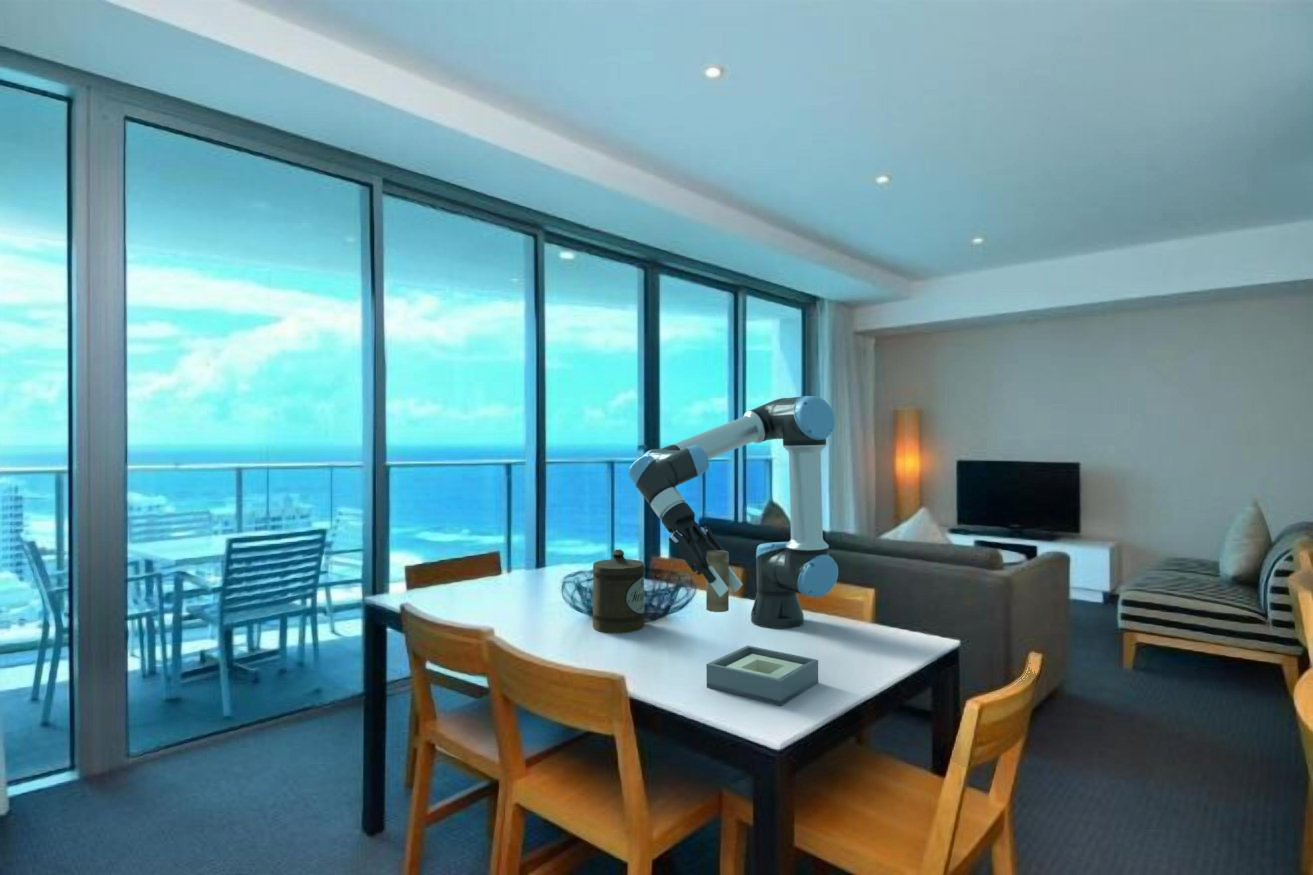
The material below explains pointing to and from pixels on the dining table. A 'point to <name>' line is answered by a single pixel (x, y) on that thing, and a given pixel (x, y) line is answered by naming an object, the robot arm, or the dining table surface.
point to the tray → (760, 681)
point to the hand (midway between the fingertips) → (731, 590)
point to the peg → (721, 566)
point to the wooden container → (618, 594)
